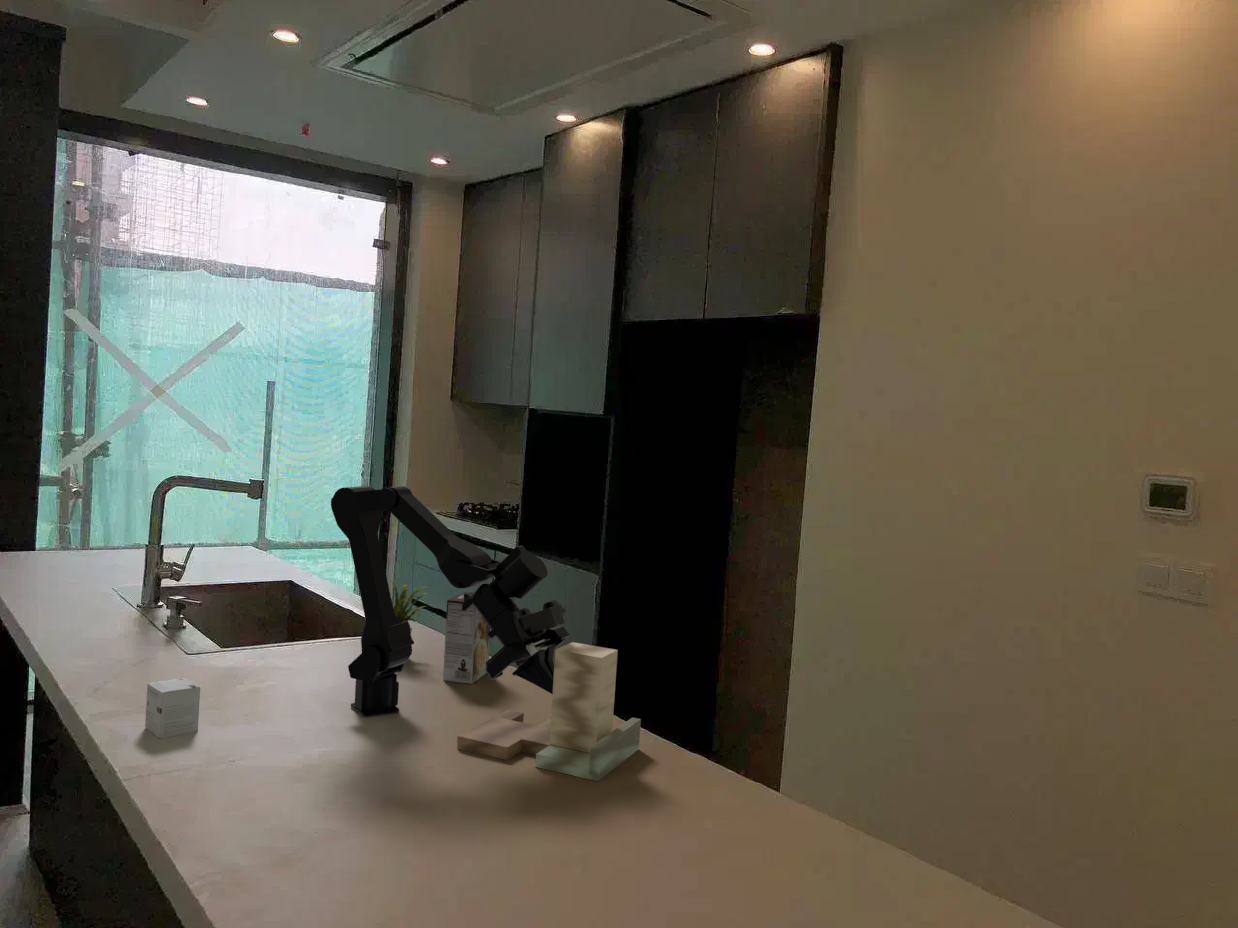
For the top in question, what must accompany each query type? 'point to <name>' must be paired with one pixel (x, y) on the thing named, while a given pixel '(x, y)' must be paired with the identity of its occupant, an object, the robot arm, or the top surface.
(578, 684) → the beech block
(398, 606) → the house plant
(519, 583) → the robot arm
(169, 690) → the skincare box
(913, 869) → the top surface
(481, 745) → the trap runway
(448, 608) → the coffee box
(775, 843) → the top surface
